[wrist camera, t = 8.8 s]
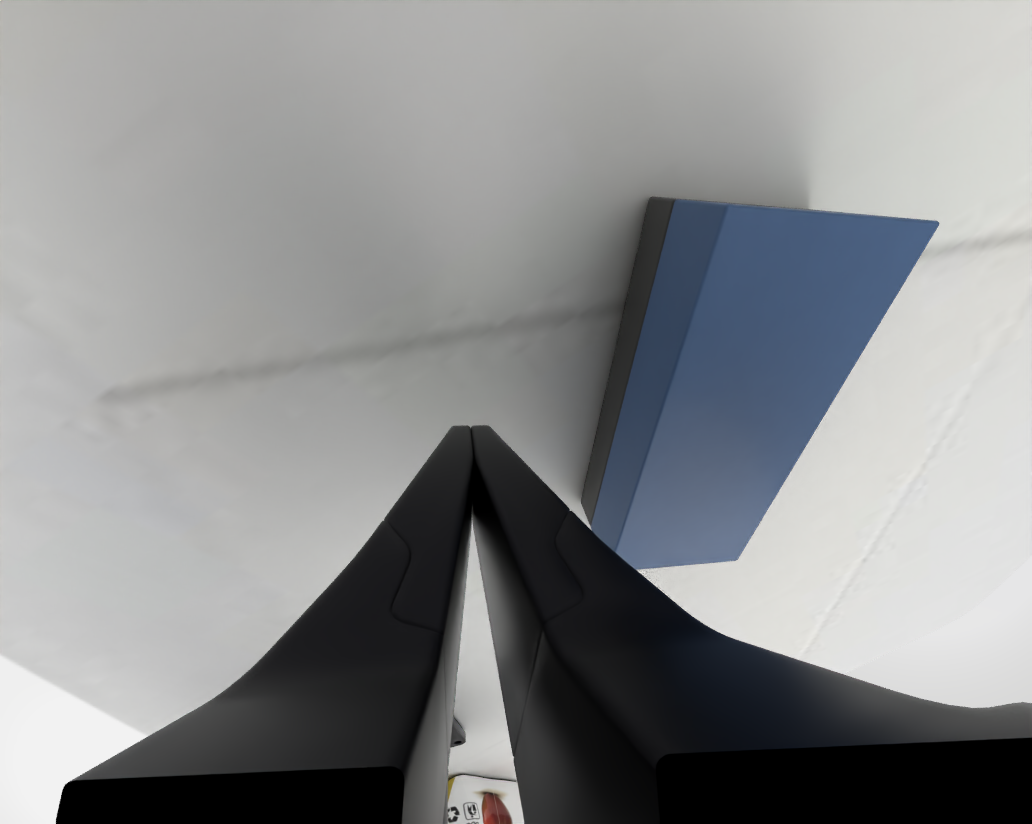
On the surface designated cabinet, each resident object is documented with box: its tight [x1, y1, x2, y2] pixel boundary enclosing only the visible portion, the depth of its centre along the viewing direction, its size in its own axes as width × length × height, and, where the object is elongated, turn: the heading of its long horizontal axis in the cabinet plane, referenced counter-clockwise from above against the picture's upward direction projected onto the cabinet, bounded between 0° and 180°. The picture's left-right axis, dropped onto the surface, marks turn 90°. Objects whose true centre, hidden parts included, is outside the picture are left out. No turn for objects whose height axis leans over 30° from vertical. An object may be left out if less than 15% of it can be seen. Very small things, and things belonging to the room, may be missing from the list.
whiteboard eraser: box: [581, 197, 939, 570], centre depth 10 cm, size 10×4×3 cm, turn 176°
